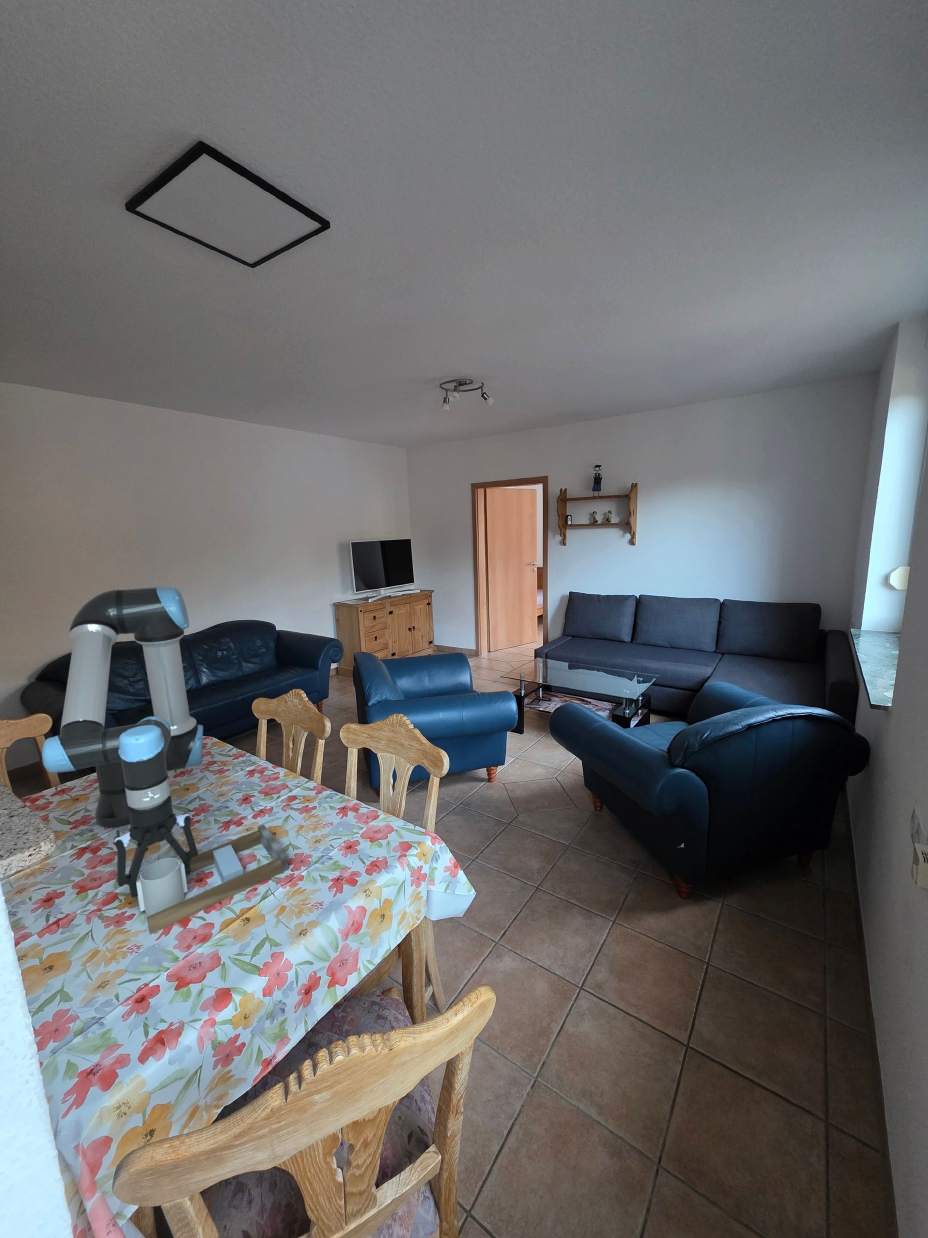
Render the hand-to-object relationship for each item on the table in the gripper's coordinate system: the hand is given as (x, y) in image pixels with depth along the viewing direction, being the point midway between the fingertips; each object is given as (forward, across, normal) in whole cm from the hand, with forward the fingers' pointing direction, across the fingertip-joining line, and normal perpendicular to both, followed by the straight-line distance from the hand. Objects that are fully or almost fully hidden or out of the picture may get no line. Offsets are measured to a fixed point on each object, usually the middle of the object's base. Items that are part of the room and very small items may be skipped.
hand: (163, 897), depth 105 cm
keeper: (+1, +13, 0) cm, 13 cm away
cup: (+1, 0, 0) cm, 1 cm away
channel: (+1, +10, 0) cm, 10 cm away
